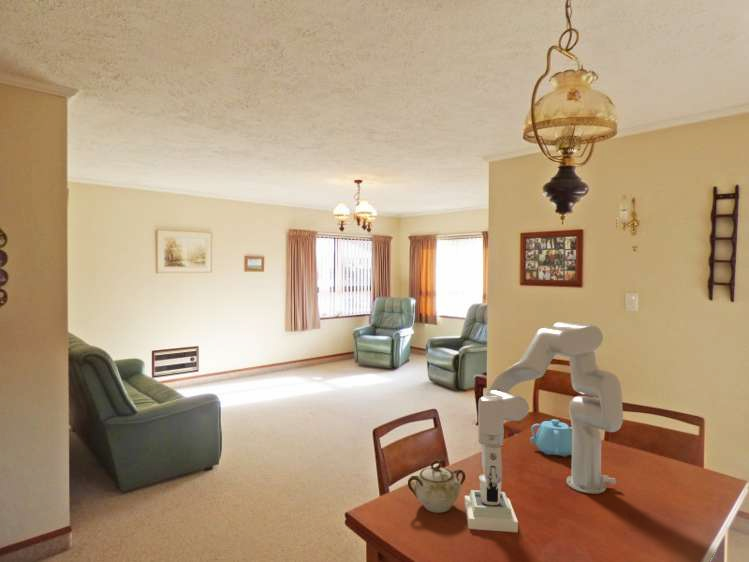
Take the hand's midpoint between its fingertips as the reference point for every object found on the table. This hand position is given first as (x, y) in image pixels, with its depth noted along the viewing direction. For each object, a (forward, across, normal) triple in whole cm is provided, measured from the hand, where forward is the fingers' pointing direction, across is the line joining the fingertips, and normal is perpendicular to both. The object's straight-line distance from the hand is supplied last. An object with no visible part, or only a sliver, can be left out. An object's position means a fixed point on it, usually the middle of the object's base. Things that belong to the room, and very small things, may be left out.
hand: (490, 494), depth 138 cm
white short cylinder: (+2, 0, 0) cm, 2 cm away
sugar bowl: (+7, +5, +16) cm, 18 cm away
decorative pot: (+8, +57, -35) cm, 67 cm away
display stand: (+7, 0, 0) cm, 7 cm away
